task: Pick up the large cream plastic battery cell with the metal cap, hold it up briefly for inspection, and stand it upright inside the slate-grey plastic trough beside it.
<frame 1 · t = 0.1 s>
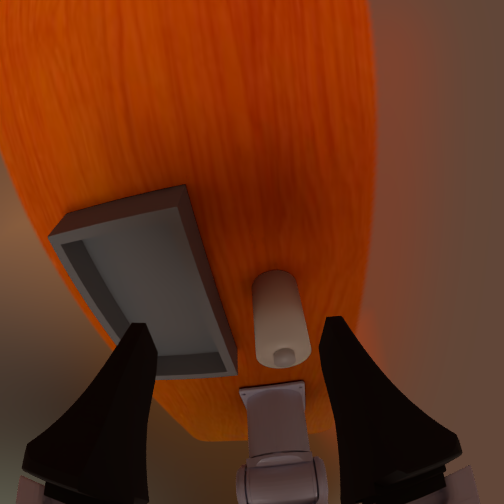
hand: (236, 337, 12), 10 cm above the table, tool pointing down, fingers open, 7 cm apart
cell: (274, 287, 24), on the table
trough: (159, 293, 24), on the table
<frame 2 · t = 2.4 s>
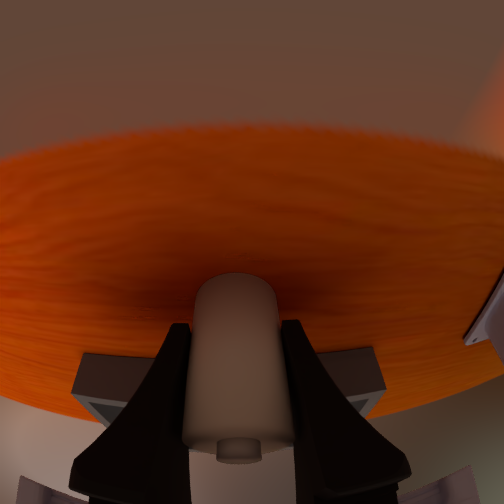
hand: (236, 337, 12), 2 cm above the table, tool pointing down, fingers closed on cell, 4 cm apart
cell: (236, 303, 13), on the table, touching gripper
trough: (228, 396, 19), on the table
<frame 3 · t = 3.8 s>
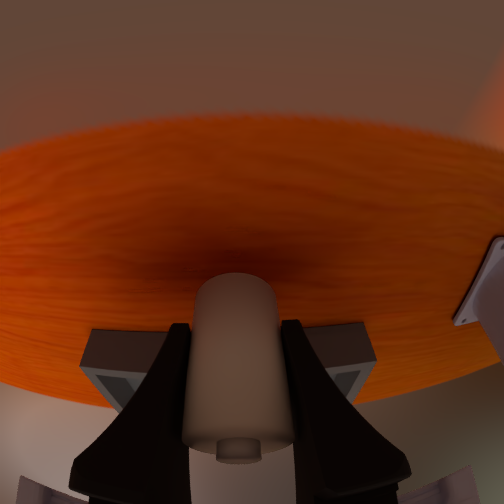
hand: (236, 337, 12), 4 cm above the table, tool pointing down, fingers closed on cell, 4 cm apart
cell: (235, 303, 13), point 2 cm above the table, touching gripper
trough: (228, 372, 20), on the table
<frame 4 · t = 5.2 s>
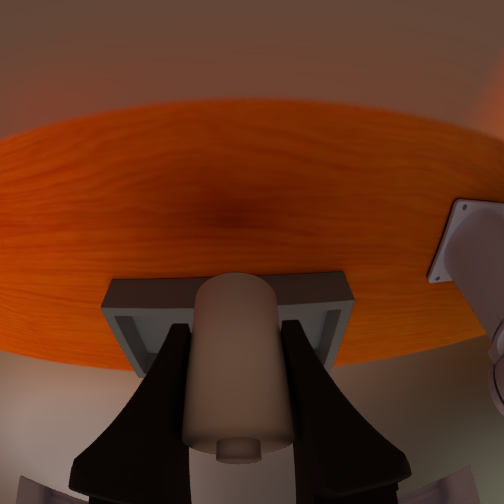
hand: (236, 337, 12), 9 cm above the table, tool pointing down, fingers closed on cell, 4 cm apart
cell: (235, 303, 13), point 7 cm above the table, touching gripper
trough: (228, 320, 24), on the table
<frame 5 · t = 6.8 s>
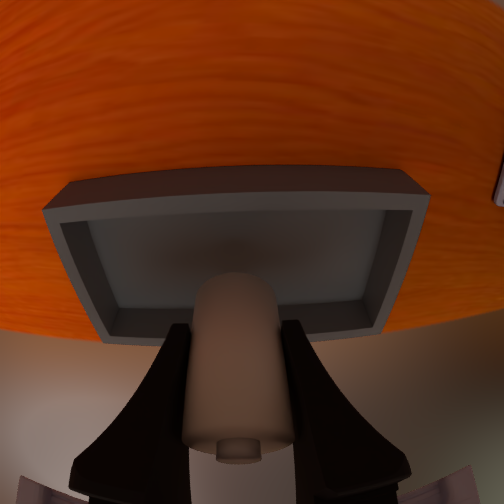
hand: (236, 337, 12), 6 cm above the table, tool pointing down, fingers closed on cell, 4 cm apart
cell: (235, 303, 13), point 4 cm above the table, touching gripper
trough: (236, 249, 16), on the table
when the fingers open (4 cm above the table, at t = 8.0 s): cell drops 1 cm, resting on trough.
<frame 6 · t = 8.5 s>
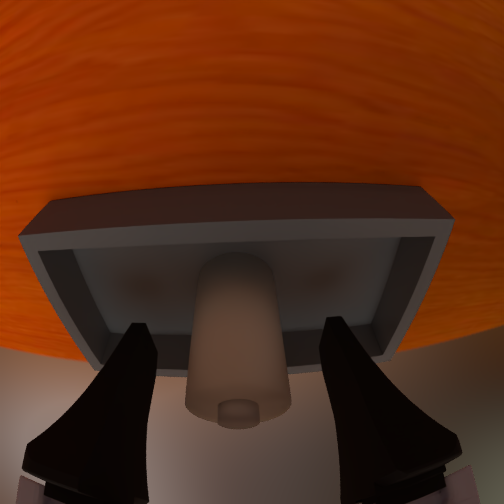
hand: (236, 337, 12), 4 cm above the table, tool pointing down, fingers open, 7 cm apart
cell: (236, 282, 14), point 1 cm above the table, touching trough
trough: (235, 274, 15), on the table
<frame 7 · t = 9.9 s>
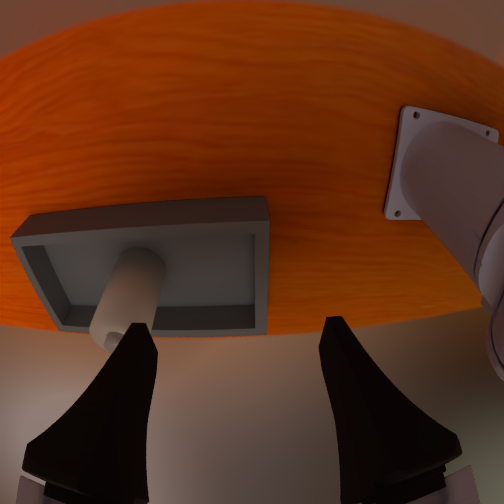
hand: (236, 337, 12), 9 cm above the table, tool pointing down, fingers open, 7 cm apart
cell: (141, 267, 20), point 1 cm above the table, touching trough
trough: (142, 262, 21), on the table
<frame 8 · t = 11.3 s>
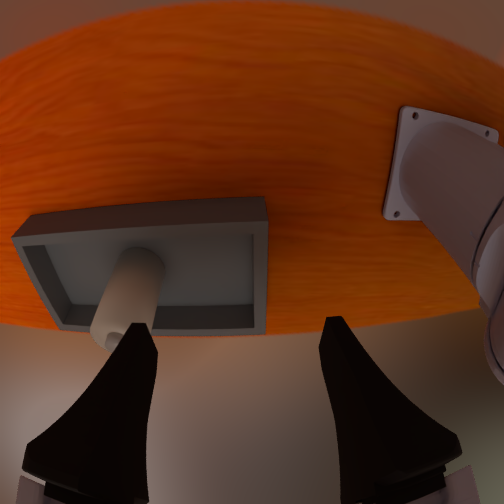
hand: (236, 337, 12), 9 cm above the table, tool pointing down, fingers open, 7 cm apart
cell: (141, 267, 20), point 1 cm above the table, touching trough
trough: (142, 262, 21), on the table
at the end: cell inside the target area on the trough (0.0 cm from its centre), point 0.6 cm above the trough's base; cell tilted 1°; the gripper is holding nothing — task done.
